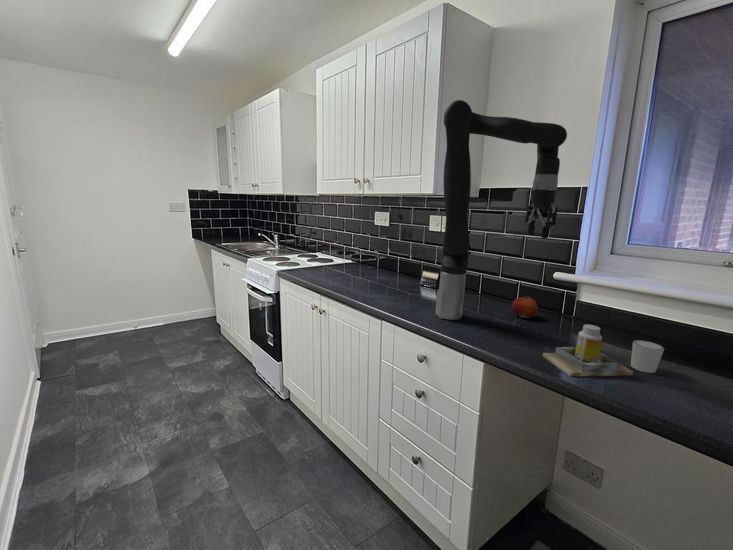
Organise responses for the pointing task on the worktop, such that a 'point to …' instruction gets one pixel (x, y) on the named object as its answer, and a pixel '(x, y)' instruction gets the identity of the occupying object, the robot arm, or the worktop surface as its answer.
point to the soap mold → (539, 546)
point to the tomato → (524, 307)
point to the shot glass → (646, 356)
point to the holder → (585, 364)
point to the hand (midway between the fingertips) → (537, 236)
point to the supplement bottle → (588, 344)
